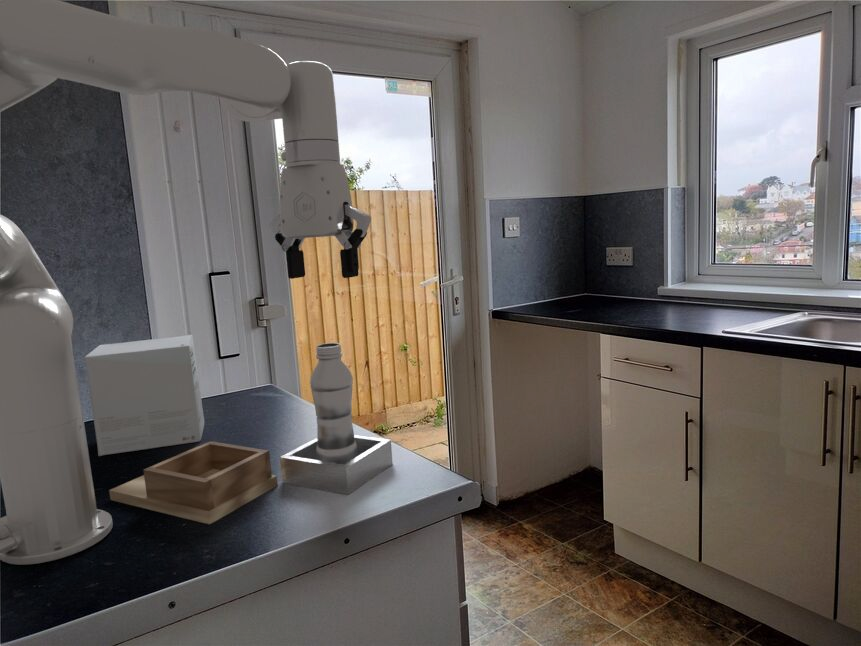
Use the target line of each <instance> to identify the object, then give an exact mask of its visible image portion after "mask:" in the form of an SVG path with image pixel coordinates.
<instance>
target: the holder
mask: <svg viewBox="0 0 861 646" xmlns="http://www.w3.org/2000/svg"><path fill="white" fill-rule="evenodd" d="M354 437H355V441H356V445H357V449H358V454H359V456H357V457H356V458H354V459H353V460H351V461H349V462H348V463H346V464H338V463H332V462H325V461H319V460H316V449H317V437H316V438H314V439H312V440H310V441H308V442H305V443H304V444H302V445H300V446H298V447H297V448H295V449H292V450H291V451H288V452H287V453H285V454H283V455H281V456H279V463H280V474H281V475H280V476H281V483H282V484H287V485H293V486H298V487H303V488H308V489H314V490H319V491H322V492H323V491H324V492H331V493H335V494H340V495H346V496H350V495H351V494H352V493H353V492H355V491H356V490H358V489H359V488H361V487H362V486H364V485H365V484H366V483H368V482H369V481H371V480H372V479H374V478H375V477H377V476H378V475H379V474H381V473H382V472H384V471H385V470H386V469H388V468H389V467H391V466H392V465H394V464H393V452H392V451H393V450H392V440H391V439H387V438H386V439H385V438H380V437H373V436H363V435H358V434H357V435H356V434H354Z"/></svg>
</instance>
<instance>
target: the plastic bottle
mask: <svg viewBox="0 0 861 646" xmlns="http://www.w3.org/2000/svg"><path fill="white" fill-rule="evenodd" d="M315 348H316V350H315V351H316V357H315V358H316V359H317V360H318V363H317V364H316V365H315V366H314V369H313V371H312V373H311V375H310V379H309V385H310V390H311V396H312V399H313V404H314V405H313V406H314V408H315V409H314V410H315V416H316V425H317V428H316V429H317V431H316V433H317V434H316V436H317V437H316V438H317V449H316V460H319V461H325V462H332V463H338V464H346V463H348V462H349V461H351V460H353V459H354V458H356V457H357V456H359V454H358V449H357V445H356V441H355V437H354V435H355V433H354V426H353V414H352V412H353V411H352V406H353V405H352V402H353V401H352V400H353V398H352V397H353V386H354V385H353V384H354V381H353V380H354V378H353V375H352V371H351V370H350V369H349V368H348V366H347V364H345V363H344V362H343V360H342V357H343V352H342V345H341V343H339V342H326V343H321V344H318V345H315Z"/></svg>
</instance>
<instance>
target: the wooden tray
mask: <svg viewBox="0 0 861 646" xmlns="http://www.w3.org/2000/svg"><path fill="white" fill-rule="evenodd" d="M277 486H278V475H276V474H275V475H274V474H272V466H271V456H270V450H267V449H261V448H257V447H249V446H242V445H237V444H230V443H224V442H217V441H212V440H211V441H207V442H205V443H202V444H201V445H198V446H195V447H193V448H192V449H188V450H186V451H184V452H181V453H179V454H176V455H175V456H172V457H169V458H167V459H165V460H162V461H161V462H158V463H156V464H154V465H152V466H149V467H146V468H144V469H143V475H141V476H139V477H136V478H134V479H131V480H130V481H127V482H125V483H123V484H120V485H117V486H116V487H113V488H111V489H109V490H108V491H109V497H110V498H109V500H110V501H112V502H113V501H114V502H117V503H122V504H125V505H129V506H133V507H138V508H142V509H147V510H149V511H154V512H158V513H160V514H161V513H162V514H166V515H171V516H174V517H178V518H181V519H187V520H190V521H194V522H198V523H203V524H206V525H211V524H213V523H215V522H216V521H219V520H220V519H222V518H223V517H226V516H227V515H229V514H231V513H232V512H234V511H236V510H237V509H239V508H241V507H243V506H244V505H246V504H247V503H250V502H252V501H253V500H255V499H256V498H258V497H260V496H262V495H264V494H265V493H267V492H269V491H271V490H272V489H274V488H276V487H277Z"/></svg>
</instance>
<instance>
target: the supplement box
mask: <svg viewBox="0 0 861 646" xmlns="http://www.w3.org/2000/svg"><path fill="white" fill-rule="evenodd" d="M193 337H194V336H193V334H187V335H181V336H180V335H179V336H172V337H164V338H163V337H162V338H154V339H153V338H152V339H146V340H145V339H144V340H143V339H142V340H136V341H134V340H133V341H126V342H119V343H118V342H117V343H108V344H107V343H105V344H100V345H98V346H97V347H96V348H94V349H93V350H92V351H90V352H89V353H88V354H87V355H85V356H84V363H85V369H86V376H87V381H88V382H87V383H88V389H89V396H90V404H91V409H92V417H93V422H94V423H93V424H94V425H93V426H94V430H95V440H96V445H97V446H96V447H97V454H98V455H97V456H98V457H101V456H106V455H114V454H120V453H122V454H123V453H127V452H135V451H140V450H149V449H156V448H162V447H169V446H177V445H184V444H191V443H197V442H201V441H202V436H203V433H204V429H205V428H204V427H205V417H204V416H205V415H204V409H203V403H202V397H201V396H202V394H201V388H200V381H199V380H200V379H199V372H198V366H197V357H196V349H195V343H194V338H193Z"/></svg>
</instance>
